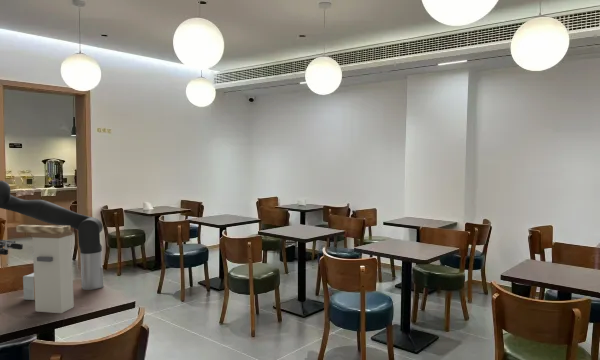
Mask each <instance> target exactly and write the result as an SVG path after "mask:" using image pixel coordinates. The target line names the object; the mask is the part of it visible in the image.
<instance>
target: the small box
mask: <svg viewBox="0 0 600 360" xmlns="http://www.w3.org/2000/svg"><path fill="white" fill-rule="evenodd" d="M22 283H23V285H22V287H23V300H27V301H28V300H29V301H30V300H31V301H35V285H34V272H31V273H30V274H27V275H23V276H22Z"/></svg>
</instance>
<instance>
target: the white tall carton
mask: <svg viewBox="0 0 600 360" xmlns="http://www.w3.org/2000/svg"><path fill="white" fill-rule="evenodd" d="M72 235H73V231H72V230H71V232H68V233H64V234H51V233H32V232H31V234H30V237H31V238H32V255H33V256H32V257H33V259H32V261H33V273H34V285H35V300H34V301H35V303H34V304H35V305H34V306H35V308H34V309H35V312H38V313H39V312H41V313H51V314H52V313H53V314H54V313H55V314H63V313H65V312H67V311H69V310H71V309H73V308H74V307H75V305H74V303H75V302H74V301H75V299H74V279H73V278H74V277H73V276H74V275H73V256H72V255H73V251H72V247H73V246H72Z"/></svg>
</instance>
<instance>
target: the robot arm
mask: <svg viewBox="0 0 600 360" xmlns="http://www.w3.org/2000/svg"><path fill="white" fill-rule="evenodd" d="M0 209H2V210H7V211H10V212H15V213H18V214H20V215H24V216H27V217H30V218H32V219H35V220H37V221H40V222H42V223H43V222H44V223H47V224H49V225H54V226H59V225H62V226H71V228H72V229H75V230H77V237H78V247H79V249H80V253H79V254H80V272H81V274H80V276H81V279H80V280H81V290H86V291H88V290H89V291H90V290H91V291H92V290H97V289H98V290H99V289H100V288H104V267H103V251H102V249H103V247H102V244H101V235H100V234H101V233H102V231H103V223H102V221H101V220H100V219H99V218H96V217H94V216H93V217H92V216H90V215H85V214H81V213H78V212H75V211H73V210H70V209H67V208H65V207H63V206H60V205H58V204H55V203H53V202H50V201H47V200H43V199H29V200H28V199H22V198H19V197H17V196H14V195H12V194H11V186H10V184H9V183H8V182H6V181H5V180H0ZM23 249H24V245H23V244H22V243H16V240H7V239H0V255H2V256H3V255H4V256H7V255H8V254H9V250H23Z"/></svg>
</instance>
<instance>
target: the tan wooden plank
mask: <svg viewBox="0 0 600 360" xmlns="http://www.w3.org/2000/svg"><path fill="white" fill-rule="evenodd" d="M15 228H16V229H15V230H16V233H31V234H32V233H51V234H64V233H68V232H71V231H72V230H71V228H72V227H71V226H62V225H40V224H39V225H38V224H37V225H36V224H19V225H16V226H15Z"/></svg>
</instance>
